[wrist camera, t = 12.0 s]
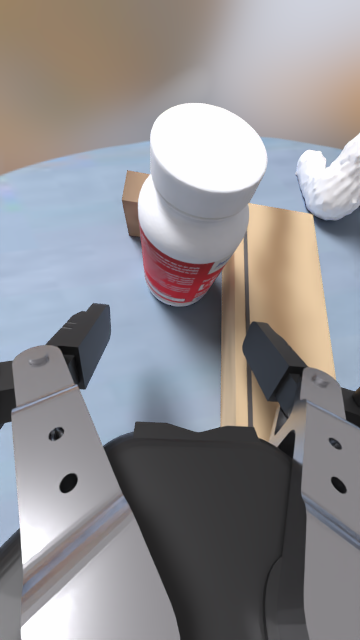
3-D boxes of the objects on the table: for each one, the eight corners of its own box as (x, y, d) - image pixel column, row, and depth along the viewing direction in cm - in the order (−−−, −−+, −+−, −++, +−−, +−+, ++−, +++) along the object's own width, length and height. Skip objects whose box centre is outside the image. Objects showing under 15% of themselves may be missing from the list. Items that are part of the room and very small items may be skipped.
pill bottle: (196, 318, 17) (266, 237, 6) (134, 292, 17) (96, 165, 6) (216, 263, 19) (299, 127, 8) (160, 240, 18) (167, 67, 8)
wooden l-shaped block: (290, 235, 21) (321, 205, 17) (316, 490, 15) (373, 534, 11) (133, 210, 19) (127, 170, 15) (88, 491, 13) (59, 546, 9)
